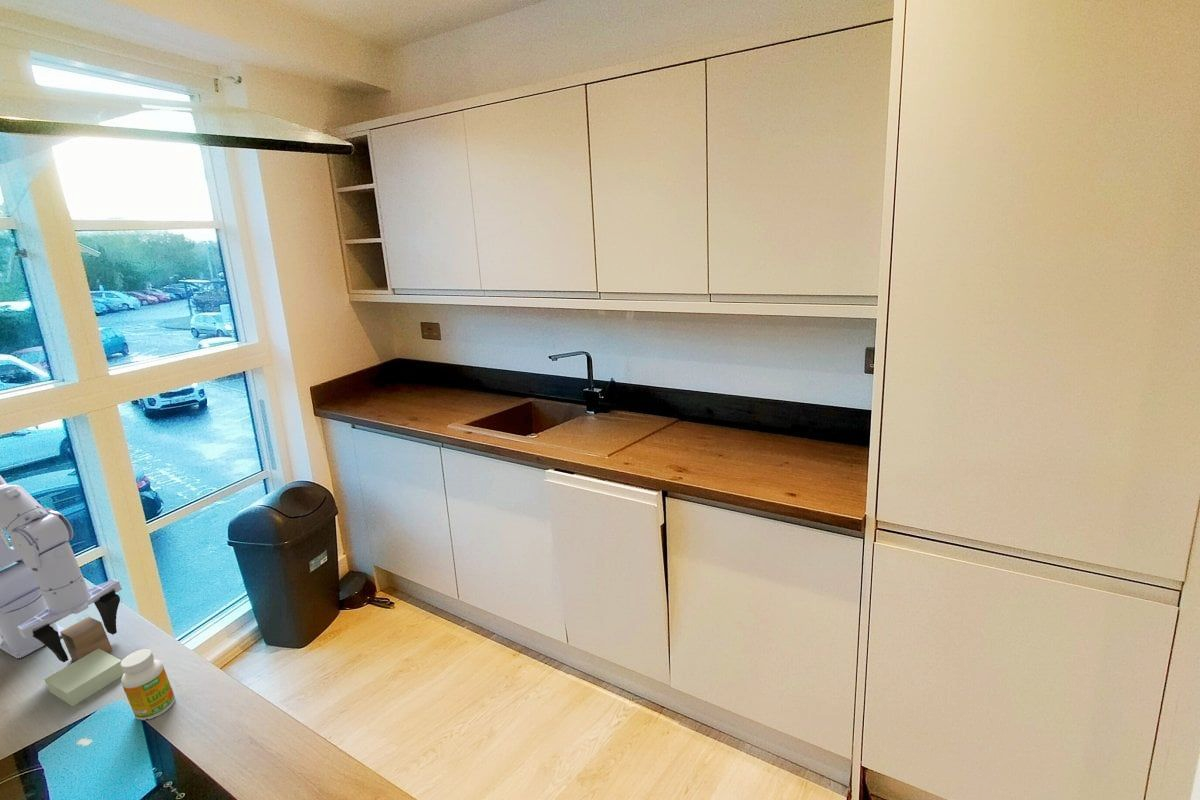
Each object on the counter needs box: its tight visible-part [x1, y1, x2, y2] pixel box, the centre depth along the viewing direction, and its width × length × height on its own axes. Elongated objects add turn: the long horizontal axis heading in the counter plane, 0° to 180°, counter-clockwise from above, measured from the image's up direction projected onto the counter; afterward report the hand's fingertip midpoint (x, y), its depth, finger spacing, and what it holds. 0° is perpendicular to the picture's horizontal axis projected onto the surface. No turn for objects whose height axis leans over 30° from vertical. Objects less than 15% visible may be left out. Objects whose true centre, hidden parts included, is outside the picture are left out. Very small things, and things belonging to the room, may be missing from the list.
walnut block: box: [60, 616, 113, 662], centre depth 112 cm, size 4×4×6 cm
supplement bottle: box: [120, 648, 176, 721], centre depth 97 cm, size 5×5×10 cm
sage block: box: [43, 648, 124, 707], centre depth 106 cm, size 8×8×3 cm
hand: (88, 645), depth 112 cm, fingers open, 7 cm apart
